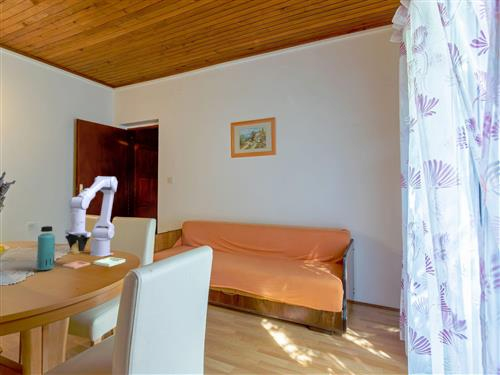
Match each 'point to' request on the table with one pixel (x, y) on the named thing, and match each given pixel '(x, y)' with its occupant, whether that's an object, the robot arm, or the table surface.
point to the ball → (75, 248)
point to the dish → (76, 264)
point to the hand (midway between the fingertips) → (77, 250)
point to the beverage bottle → (45, 249)
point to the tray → (109, 261)
